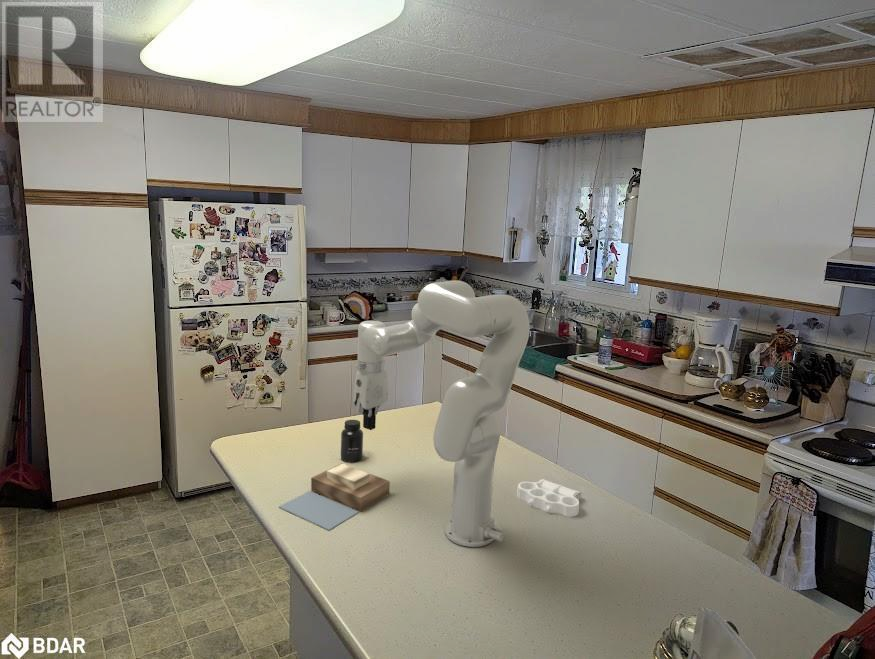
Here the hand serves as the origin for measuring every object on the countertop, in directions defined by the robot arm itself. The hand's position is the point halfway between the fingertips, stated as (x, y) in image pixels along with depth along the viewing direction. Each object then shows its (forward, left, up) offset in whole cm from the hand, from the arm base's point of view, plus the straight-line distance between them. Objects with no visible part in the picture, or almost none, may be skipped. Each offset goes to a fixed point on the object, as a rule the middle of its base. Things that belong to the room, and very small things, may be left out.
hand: (369, 428), depth 167 cm
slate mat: (0, +20, -17) cm, 26 cm away
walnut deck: (0, +8, -17) cm, 18 cm away
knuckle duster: (-46, -23, -17) cm, 54 cm away
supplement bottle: (+15, -9, -17) cm, 24 cm away
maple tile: (0, +9, -11) cm, 14 cm away
